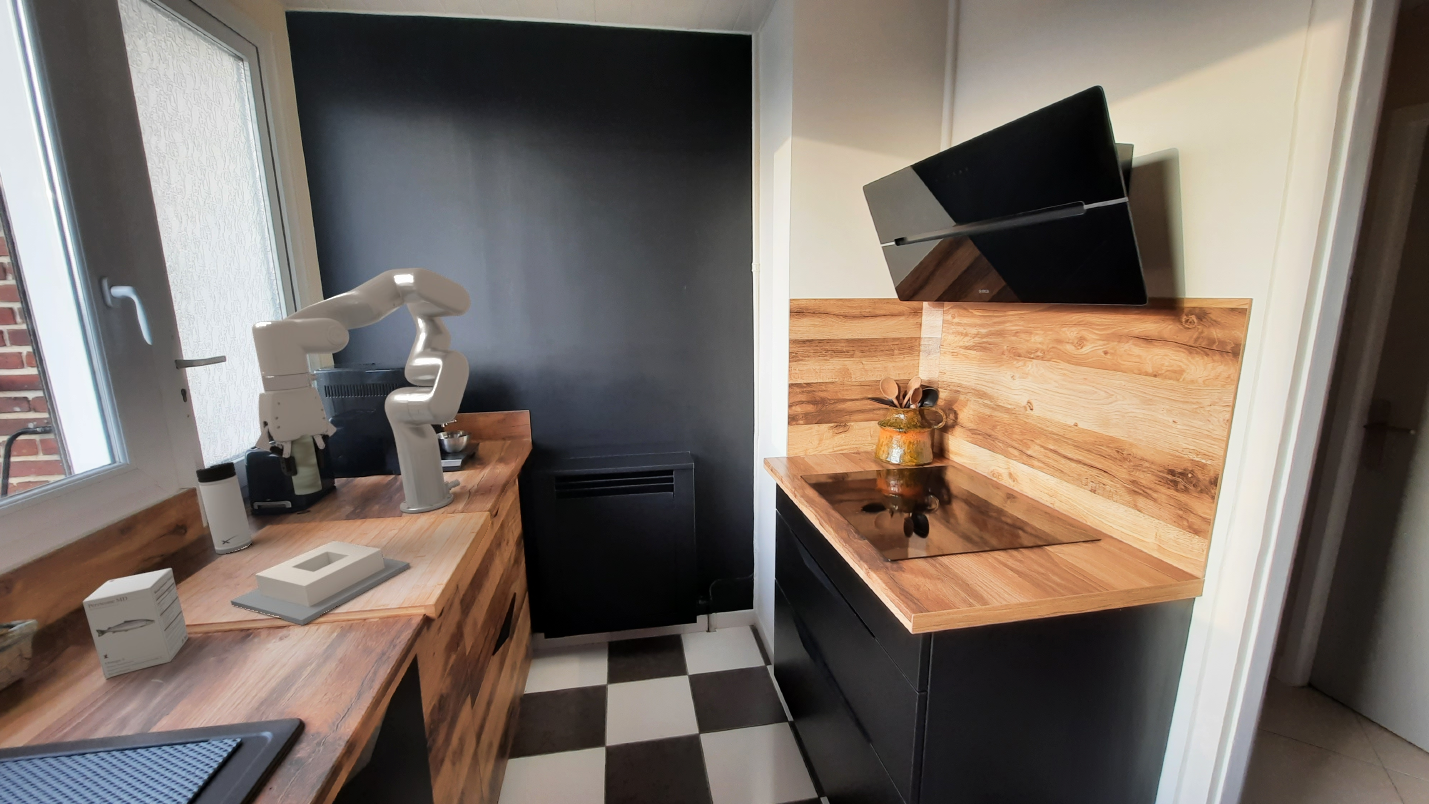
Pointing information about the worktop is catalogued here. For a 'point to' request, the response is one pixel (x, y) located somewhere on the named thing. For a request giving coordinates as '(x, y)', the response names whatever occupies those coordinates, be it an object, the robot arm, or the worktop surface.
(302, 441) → the peg
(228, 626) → the worktop surface
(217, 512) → the travel mug
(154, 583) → the supplement box
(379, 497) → the worktop surface
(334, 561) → the socket block
